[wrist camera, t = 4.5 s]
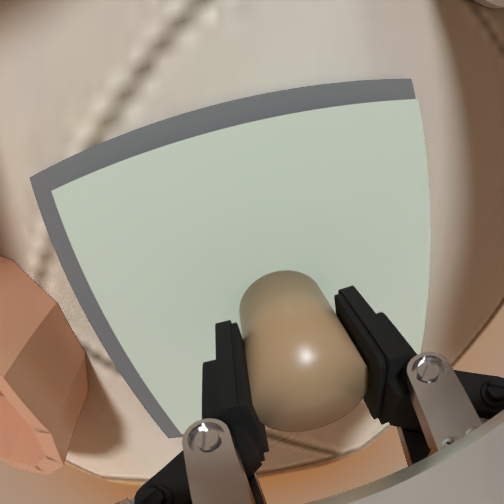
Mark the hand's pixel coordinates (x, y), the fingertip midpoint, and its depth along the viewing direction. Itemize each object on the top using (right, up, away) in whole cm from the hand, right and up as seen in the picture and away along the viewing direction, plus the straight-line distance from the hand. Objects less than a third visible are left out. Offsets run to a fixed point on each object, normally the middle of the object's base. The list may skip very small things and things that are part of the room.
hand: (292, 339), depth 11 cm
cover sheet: (0, +1, +3) cm, 3 cm away
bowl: (-17, -3, +3) cm, 18 cm away
